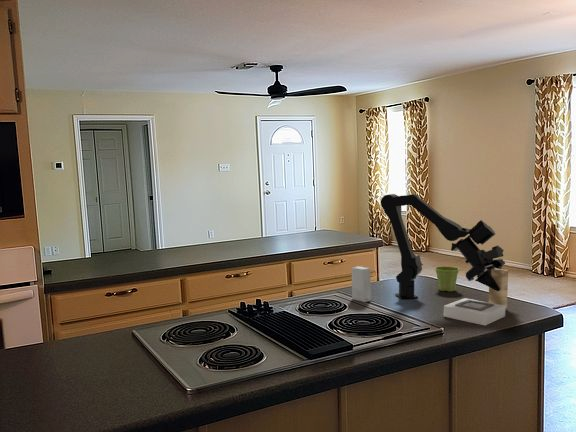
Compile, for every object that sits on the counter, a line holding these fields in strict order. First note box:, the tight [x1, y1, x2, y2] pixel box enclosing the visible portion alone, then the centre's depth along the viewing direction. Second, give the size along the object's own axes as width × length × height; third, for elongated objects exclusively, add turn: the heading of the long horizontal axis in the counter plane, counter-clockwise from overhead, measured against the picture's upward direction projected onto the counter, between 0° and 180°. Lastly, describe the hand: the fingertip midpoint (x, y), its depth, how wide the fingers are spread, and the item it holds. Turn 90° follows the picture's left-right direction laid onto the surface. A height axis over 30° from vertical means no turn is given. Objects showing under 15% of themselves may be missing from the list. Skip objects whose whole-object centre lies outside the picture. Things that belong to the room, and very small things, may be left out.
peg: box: [488, 268, 509, 309], centre depth 173 cm, size 4×4×13 cm
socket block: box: [443, 297, 506, 326], centre depth 166 cm, size 14×14×4 cm
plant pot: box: [434, 265, 460, 292], centre depth 202 cm, size 9×9×9 cm
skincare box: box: [350, 265, 372, 303], centre depth 188 cm, size 6×4×12 cm
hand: (502, 289), depth 172 cm, fingers closed on peg, 4 cm apart
